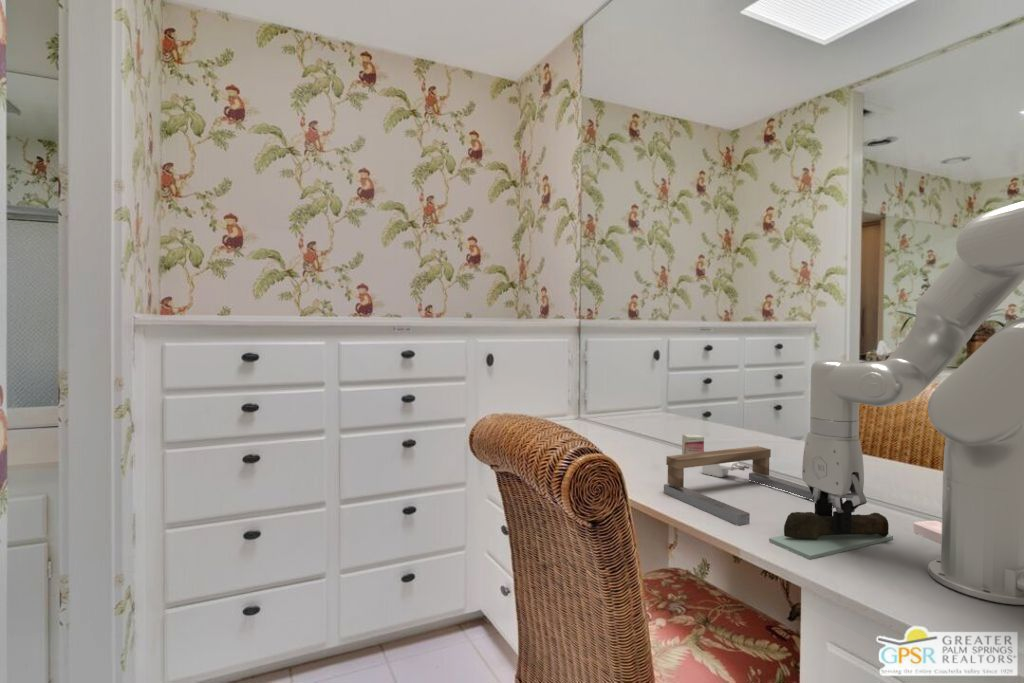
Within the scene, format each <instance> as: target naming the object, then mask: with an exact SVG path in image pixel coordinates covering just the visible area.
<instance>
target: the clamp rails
mask: <svg viewBox="0 0 1024 683" xmlns="http://www.w3.org/2000/svg"><path fill="white" fill-rule="evenodd" d="M749 480H751V481H755V482H758V483H761V484H765V485H768V486H771V487H775V488H778V489H782V490H785V491H788V492H791V493H794V494H797V495H800V496H803V497H806V498H808V499H812V496H813V495H812V493H811V491H810V489H809V487H808V486H807V485H803V484H800V483H797V482H793V481H789V480H786V479H783V478H780V477H776V476H773V475H770V474H769V475H766V476H765V475H762V474H759V473H755V472H749V473H748V481H749ZM751 481H750V482H751ZM761 484H760V485H761ZM663 494H665V495H667V496H669V497H671V498H674V499H676V500H678V501H681V502H683V503H686V504H688V505H690V506H693V507H695V508H697V509H700V510H702V511H704V512H706V513H708V514H710V515H713V516H716V517H718V518H720V519H723V520H725V521H727V522H730V523H731V524H734V525H736V526H742V525H749V524H750V518H751V516H750V515H751V514H750V513H749V512H747V511H745V510H742V509H740V508H737V507H735V506H732V505H730V504H727V503H725V502H723V501H720V500H717V499H715V498H712V497H710V496H708V495H705V494H702V493H700V492H698V491H694V490H692V489H691V488H687V487H685V486H684V487H683V488H678V487H676V486H673V485H671V484H668V483H665V484H663ZM829 502H831V503H832V506H835V497H834V496H833V495H831V496H830V501H829Z"/></svg>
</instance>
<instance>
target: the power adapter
mask: <svg viewBox="0 0 1024 683" xmlns="http://www.w3.org/2000/svg"><path fill="white" fill-rule="evenodd" d="M709 451H710V450H709ZM709 451H707V452H709ZM701 467H702V468H701V469H702V473H703V474H705V475H707V476H711V475H712V477H716V478H724V477H727V476H729V475H728V474H729V471H735V470H739V471H745V469H746V470H747V469H748V470H749V468H750V466H748V465H746V464H745V465H744V464H740V461H737V462H729V463H721V464H713V465H705V466H701Z"/></svg>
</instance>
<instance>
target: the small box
mask: <svg viewBox="0 0 1024 683" xmlns="http://www.w3.org/2000/svg"><path fill="white" fill-rule="evenodd" d="M681 439H682V441H681V443H682V444H681V455H682V454H691V453H700V452H705V437H704V436H702V435H700V434H698V433H697V434H695V433H693V434H691V433H687V434H686V433H685V434H684V433H683V434H682V437H681Z"/></svg>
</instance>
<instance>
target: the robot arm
mask: <svg viewBox="0 0 1024 683" xmlns="http://www.w3.org/2000/svg"><path fill="white" fill-rule="evenodd" d="M956 238H957V239H956V242H955V249H956V253H957V255H956V256H955V257H954V258H953V259H952V260H951V261H950V263H949V264H948V265H947V267H945V268H944V270H943V271H942V272H941V274H940V275H939V276H938V277H937V278H936V279H935V280H934V282H933V283H931V285H930V286H929V287H928V288H927V289H926V290H925V292H924V293H923V294H922V295H921V296H920V297H919V299H918V301H917V303H916V306H915V307H916V308H915V318H914V321H913V325H912V327H911V328H910V331H909V332H908V333H907V335H906V337H905V338H904V339H903V340H902V342H900V344H899V345H898V346H897V347H896V349H894V351H893V352H892V353H891V354H890V355H889V356H888V357H887V358H886V359H885V360H879V361H869V362H868V361H867V362H854V361H852V360H851V361H850V360H845V359H843V360H841V359H840V360H839V359H821V360H817V361H815V362H813V363H812V365H811V368H810V408H809V409H810V410H809V411H810V413H809V414H810V415H809V416H810V418H809V419H810V420H809V426H810V427H809V431H807V435H806V437H805V442H804V448H803V455H802V469H801V470H802V472H801V477H802V481H803V483H804V484H805V485H806V486H807V487H809V489H810V491H811V493H812V495H813V496H812V500H813V501H812V502H813V503H814V513H816V514H817V515H818V516H833V533H834V534H836V535H841V534H850V533H851V518H852V515H853V514H852V513H855V511H856V509H857V508H859V507H860V506H863V505H866V504H867V502H868V501H867V499H866V495H865V494H864V488H865V470H864V469H865V468H864V467H865V466H864V465H865V464H864V457H863V456H864V454H863V450H862V444H861V440H860V439H859V437H860V435H859V434H860V404H862V405H867V406H871V407H878V408H879V407H890V406H893V405H898V404H901V403H906V402H909V401H911V400H913V399H915V398H916V397H918V396H919V395H920V394H921V393H922V392H923V391H924V390H925V389H927V388H928V387H929V385H931V383H932V382H934V381H935V380H936V378H937V377H939V375H940V374H941V373H942V372H943V371H945V369H946V368H947V366H949V365H950V363H951V362H952V361H953V360H954V359H955V358H956V356H957V355H958V354H959V352H960V351H961V350H962V348H963V347H964V346H965V345H966V344H967V343H968V342H969V341H970V339H971V338H972V337H973V335H974V334H975V332H976V331H977V330H978V329H979V328H980V326H981V325H982V324H983V323H984V322H985V321H986V320H987V319H988V318H989V317H990V316H991V315H992V314H993V313H994V311H996V309H997V308H998V307H999V306H1000V305H1001V304H1002V303H1003V302H1004V301H1005V300H1006V299H1007V298H1008V297H1009V296H1010V295H1011V294H1012V293H1013V291H1015V289H1017V288H1018V286H1019V287H1020V285H1021V283H1022V282H1023V281H1024V200H1021V201H1018V202H1015V203H1012V204H1011V203H1010V204H1008V205H1005V206H1001V207H999V208H998V207H997V208H995V209H991V210H988V211H987V212H984V213H981V214H979V215H977V216H976V217H974V218H973V219H971V220H970V221H968V223H967V224H965V225H964V227H963V228H962V229H961V230H960V232H959V234H958V236H957V237H956ZM927 414H928V415H927V416H928V418H929V421H930V423H931V425H932V426H933V428H934V429H935V430H936V431H937V432H938V433H939V434H940V435H942V436H943V437H944V438H945V441H944V451H943V463H942V464H943V469H942V470H943V472H942V494H941V495H942V496H941V498H942V499H941V500H942V501H941V502H942V503H941V523H942V537H941V544H940V545H941V546H940V548H941V550H940V559H934V560H930V562H928V565H927V572H928V574H929V576H930V577H931V578H933V579H934V580H935V581H937V583H940V584H941V585H943V586H945V587H947V588H949V589H952V590H953V591H955V592H956V591H957V592H959V593H962V594H964V595H967V596H971V597H973V598H977V599H980V600H985V601H989V602H994V603H998V604H1007V605H1015V606H1016V605H1017V606H1024V317H1021V318H1018V319H1014V320H1012V321H1011V322H1009V323H1007V324H1006V325H1004V326H1003V327H1001V328H1000V329H998V330H996V332H995V333H994V334H992V335H991V336H990V337H989V338H988V339H987V340H986V341H984V342H983V343H982V344H981V346H979V347H978V348H977V349H976V350H975V351H974V352H973V353H972V354H971V355H969V357H968V358H966V359H965V360H964V361H963V362H962V363H961V364H960V365H959V366H958V367H957V368H955V370H954V371H953V372H951V373H950V374H949V375H948V377H946V378H945V379H944V380H943V381H942V382H941V383H940V384H939V385H938V386H937V387H936V388H935V390H934V391H933V392H932V393H931V395H930V398H929V399H928V404H927ZM831 495H833V496H834V497H835V506H836V507H835V510H833V508H832V503H831V502H829V501H830V496H831ZM843 499H845V501H844V502H843Z"/></svg>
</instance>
